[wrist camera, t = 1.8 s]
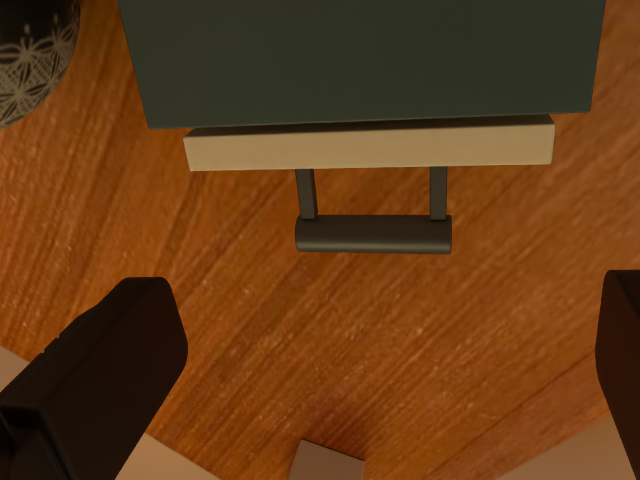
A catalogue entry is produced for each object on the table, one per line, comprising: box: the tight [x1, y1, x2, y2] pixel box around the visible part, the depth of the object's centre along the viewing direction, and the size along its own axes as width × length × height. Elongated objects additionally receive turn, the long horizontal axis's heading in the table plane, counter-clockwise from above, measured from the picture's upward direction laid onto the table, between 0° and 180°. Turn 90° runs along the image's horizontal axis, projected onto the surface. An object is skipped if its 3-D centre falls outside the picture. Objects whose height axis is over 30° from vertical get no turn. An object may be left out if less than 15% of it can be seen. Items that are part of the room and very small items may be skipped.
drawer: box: [183, 114, 556, 254], centre depth 18 cm, size 18×11×8 cm, turn 5°
